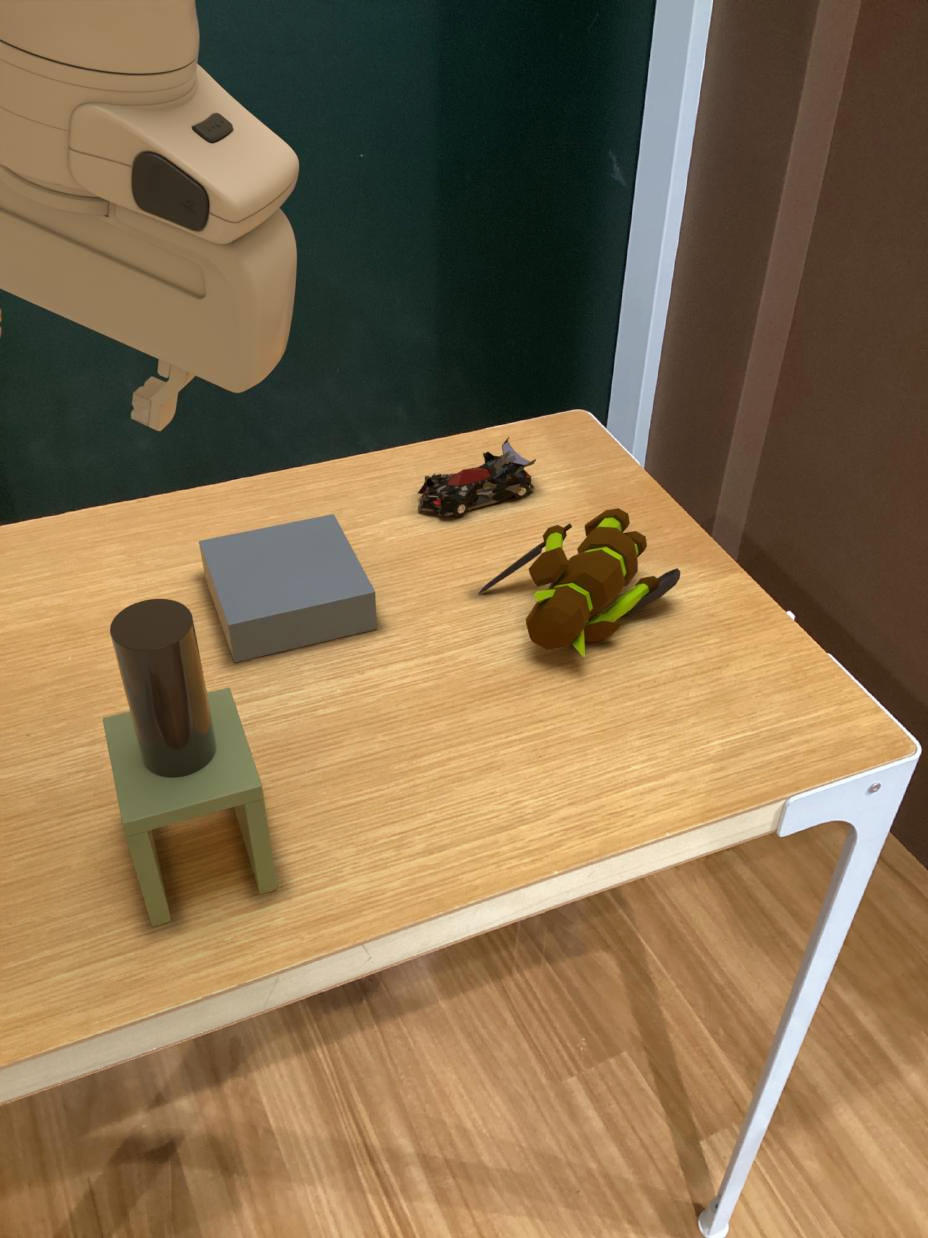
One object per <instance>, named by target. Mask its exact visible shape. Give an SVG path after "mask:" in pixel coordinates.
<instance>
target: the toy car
mask: <svg viewBox="0 0 928 1238" xmlns="http://www.w3.org/2000/svg"><path fill="white" fill-rule="evenodd" d="M509 439H510V436H508V437H507V438H506V439H505V441H503V443H502V445H501V451H502V454H501V455H494V454H493V453H492V452H489V451H486V452H482V456H483V459H484V463H483V464H481V465H479V466H476V467H471V468H464V469H462V470H460V471H458V472H457V473H449V474H448V473H445V474H444V473H443V474H442V473H439V474H436V473H433V474H432V475H425V476H424V483H423V484H422V486H421V487H420V489H419V490H418V491H417V494H418V495H421V497H420V498H419V501H418V506H417V511H421V512H438V514H437V515H438V516H445V517H449V516H454V517H456V518H457V517H459V518H460V517H463V516H464V515H465V514H466V513H467V512H468V511H470V510H473V509H478V508H483V507H485V506H489V505H492V504H493V505H494V504H496V503H500V502H502V501H504V500H507V499H511V498H512V497H514V498H516V499H522V498H524V497H526V496H527V495H528V494H529V493H530V492H531V491H535V490H536V489H535V488H536V487H535V486H534V484H532V475H530V474H529V472H528V471H526V470H525V468H527V467H529V466H532V465H535V463H536V462H537V461H536V460H537V459H536V458H534V459H533V460H531V461H530V460H528V459H526V458H525V457H522V456H521V455H520V454H519V453H518V452H517V451H516V450H515V449H514V448H513V446H512V445H511V443H510V442H509Z"/></svg>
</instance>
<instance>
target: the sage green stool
mask: <svg viewBox="0 0 928 1238" xmlns="http://www.w3.org/2000/svg"><path fill="white" fill-rule="evenodd" d="M207 696H208V701H209V707H210V712H211V717H212V723H213V728H214V733H215V739H216V752H215V755H214V756H213V758H212V760H211V761H210V762H209V763H208V764H207V765H206V766H205V767H204V768H202V769H201V770H199V771H197V772H195V773H193V774H190V775H187V776H183V777H175V778H170V777H163V776H159V775H156V774H154V773H152V772H151V771H150V770H148V769H147V767H146V766H145V765H144V763H143V760H142V756H141V752H140V748H139V744H138V741H137V737H136V733H135V729H134V725H133V721H132V717H131V713H130V711H126V712H125V711H124V712H122V713H117V714H113V715H109V716H105V717H103V718H102V725H103V730H104V736H105V740H106V745H107V746H106V747H107V751H108V756H109V761H110V767H111V773H112V777H113V782H114V788H115V792H116V800H117V803H118V808H119V809H118V810H119V815H120V818H121V824H122V829H123V831H124V835H125V838H126V842H127V845H128V849H129V852H130V856H131V859H132V862H133V866H134V869H135V873H136V876H137V880H138V883H139V886H140V890H141V894H142V897H143V900H144V904H145V908H146V911H147V914H148V917H149V922H150V925H151V927H152V928H154V927H157V926H160V925H164V924H167V923H171V921H172V917H171V913H170V908H169V904H168V899H167V894H166V890H165V884H164V880H163V879H164V878H163V875H162V871H161V866H160V863H159V862H160V861H159V857H158V853H157V847H156V843H155V838H154V833H153V830H156V829H159V828H163V827H166V826H170V825H174V824H178V823H181V822H185V821H189V820H191V819H195V818H199V817H202V816H206V815H210V814H214V813H217V812H220V811H225V810H228V809H232V808H233V809H234V813H235V816H236V819H237V822H238V826H239V830H240V832H241V836H242V840H243V842H244V846H245V850H246V853H247V856H248V859H249V862H250V866H251V869H252V874H253V876H254V880H255V883H256V887H257V890H258V893H259V894H260V895H263V894H266V893H270V892H273V891H277V890H278V888H279V887H278V880H277V873H276V867H275V861H274V853H273V848H272V841H271V835H270V829H269V821H268V816H267V809H266V802H265V797H264V789H263V784H262V781H261V778H260V775H259V772H258V769H257V766H256V763H255V760H254V757H253V754H252V751H251V747H250V745H249V742H248V739H247V736H246V733H245V728H244V726H243V723H242V720H241V717H240V714H239V711H238V708H237V705H236V701H235V699H234V695H233V693H232V690H231V688H230V687H224V688H221V689H216V690H212V691H209V692H208V691H207Z"/></svg>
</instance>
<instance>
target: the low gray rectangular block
mask: <svg viewBox="0 0 928 1238" xmlns="http://www.w3.org/2000/svg"><path fill="white" fill-rule="evenodd" d="M198 544H199V550H200V551H199V552H200V556H201V562H202V563H201V564H202V569H203V574H204V579H205V581H206V582H205V583H206V585H207V587H208V591H209V593H210V596H211V599H212V602H213V605H214V609H215V611H216V614H217V616H218V620H219V622H220V626H221V628H222V631H223V634H224V637H225V640H226V643H227V646H228V649H229V651H230V655H231V657H232V661H233V663H234V664H236V663H240V662H244V661H249V660H252V659H256V658H260V657H264V656H269V655H274V654H278V653H281V652H282V653H283V652H285V651H290V650H295V649H298V648H303V647H307V646H311V645H316V644H320V643H325V642H328V641H333V640H338V639H341V638H345V637H349V636H354V635H359V634H362V633H366V632H371V631H376V630H377V629H378V620H377V601H376V600H377V599H376V591H375V588H374V587H373V585H372V583H371V581H370V579H369V577H368V576H367V573H366V572H365V570H364V568H363V566H362V564H361V562H360V560H359V559H358V556H357V555H356V553H355V551H354V549H353V547H352V546H351V543H350V541H349V539H348V538H347V536H346V534H345V532H344V530H343V528H342V527H341V525H340V523H339V521H338V519H337V517H336V515H335V514H334V513H331V514H326V515H321V516H315V517H311V518H306V519H301V520H295V521H291V522H286V523H280V524H276V525H271V526H266V527H262V528H256V529H251V530H245V531H241V532H236V533H230V534H226V535H222V536H216V537H210V538H206V539H202V540H199V541H198Z"/></svg>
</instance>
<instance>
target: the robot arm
mask: <svg viewBox="0 0 928 1238" xmlns="http://www.w3.org/2000/svg"><path fill="white" fill-rule="evenodd" d="M196 7H197V6H196V0H0V290H2V291H5V292H6V293H9V294H12V295H13V296H16V297H18V298H20V299H22V300H25V301H27V302H29V303H32V304H34V305H36V306H38V307H40V308H43V309H45V310H47V311H50V312H51V313H54V314H56V315H59V316H61V317H63V318H65V319H68V320H69V321H72V322H74V323H76V324H79V325H81V326H84V327H85V328H87V329H90V330H92V331H94V332H97V333H99V334H101V335H104V336H106V337H108V338H110V339H112V340H115V341H117V342H119V343H122V344H124V345H126V346H128V347H131V348H133V349H135V350H137V351H139V352H142V353H144V354H146V355H149V356H150V357H153V358H155V359H158V362H157V363H158V364H157V374H158V375H159V376H161V377H164V378H165V379H168V380H166V381H164V380H162V379H159V378H157V377H155V376H150V377H149V378H148V379H147V380H146V381H144V385H141V386H139V387H138V388H137V389H136V390H135V391H133V393H132V400H131V405H132V407H133V409H132V410H131V411H130V412H131V413H130V419H131V420H134V421H136V422H137V423H140V424H142V425H144V426H146V427H148V428H150V429H153V430H155V431H157V432H162V431H163V430H164V429H165V427H167V426H168V425H169V424H170V423H171V421H172V420H173V418H174V416H175V414H176V410H177V403H178V395H179V392H180V391H181V390H182V389H183V388H185V387H186V386H187V384H189V383H190V382H191V381H193V379H194V378H195V377H198V378H200V379H202V380H204V381H206V382H209V383H211V384H214V385H216V386H217V387H220V388H222V389H224V390H226V391H229V392H231V393H234V394H235V393H236V394H240V393H243V392H245V391H248V390H249V389H251V388H254V387H255V386H257V385H258V384H260V383H261V382H262V381H263V380H265V378H267V376H269V374H271V373H272V371H273V370H275V368H276V366H277V365H278V364H279V363H280V362H281V359H282V358H283V356H284V354H285V351H286V350H287V345H288V342H289V337H290V332H291V327H292V326H291V325H292V320H293V312H294V303H295V297H296V284H297V281H296V280H297V268H298V267H297V264H298V252H297V251H298V249H297V241H296V237H295V234H294V229H293V227H292V224H291V223H290V220H289V219H288V217H287V215H286V214H285V213H284V212H283V210H282V209H281V208H280V207H281V206H282V205H283V204H284V203H285V202H286V201H287V200H288V198H289V197H290V196H291V194H292V193H293V191H294V189H295V187H296V186H297V182H298V177H299V173H300V161H299V158H298V155H297V154H296V152H295V151H294V150H293V148H292V147H291V146H290V145H289V143H287V142H286V141H284V139H282V138H281V137H280V136H279V135H277V133H275V132H273V130H272V129H270V128H269V127H268V126H267V125H266V124H264V122H262V121H261V120H260V119H258V118H257V117H256V116H254V114H253V113H251V112H250V111H249V110H247V109H246V108H245V107H244V106H243V105H242V103H240V102H239V101H237V100H236V99H235V98H234V97H233V96H232V95H231V94H230V93H229V92H227V90H226V89H224V87H222V86H221V85H220V84H219V83H218V82H217V81H216V80H215V79H214V78H213V77H212V76H211V75H210V74H209V73H208V72H207V71H206V70H205V69H204V68H203V67H202V66H201V65H199V64H198V60H199V54H200V53H199V52H200V36H201V35H200V27H199V20H198V15H197V8H196ZM0 323H2V308H0ZM1 337H2V327H1V326H0V338H1Z"/></svg>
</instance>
